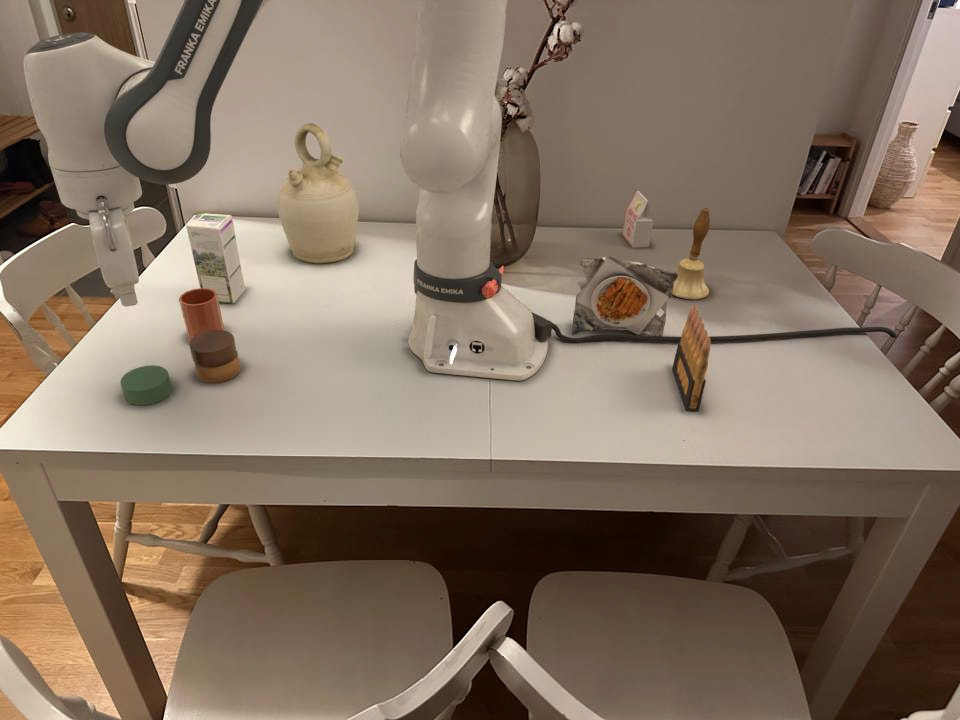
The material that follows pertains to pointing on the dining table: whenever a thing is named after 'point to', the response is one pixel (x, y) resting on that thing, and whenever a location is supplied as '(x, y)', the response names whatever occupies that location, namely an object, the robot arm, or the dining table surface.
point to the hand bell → (693, 264)
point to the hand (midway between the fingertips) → (127, 286)
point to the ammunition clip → (692, 361)
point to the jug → (318, 204)
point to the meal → (622, 296)
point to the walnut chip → (213, 348)
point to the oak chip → (219, 371)
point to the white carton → (638, 222)
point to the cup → (201, 311)
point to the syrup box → (216, 255)
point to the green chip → (146, 385)
